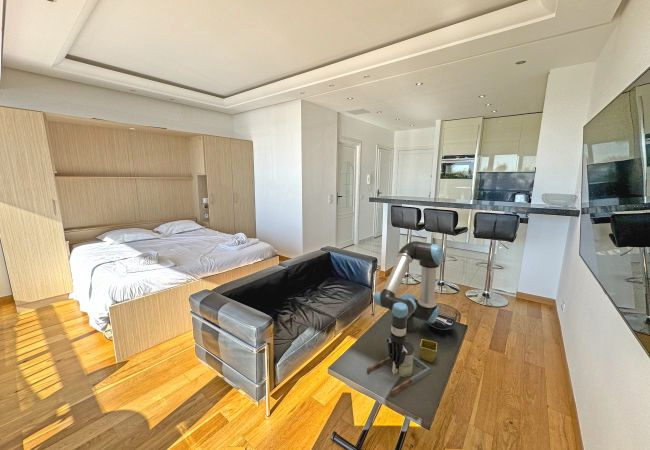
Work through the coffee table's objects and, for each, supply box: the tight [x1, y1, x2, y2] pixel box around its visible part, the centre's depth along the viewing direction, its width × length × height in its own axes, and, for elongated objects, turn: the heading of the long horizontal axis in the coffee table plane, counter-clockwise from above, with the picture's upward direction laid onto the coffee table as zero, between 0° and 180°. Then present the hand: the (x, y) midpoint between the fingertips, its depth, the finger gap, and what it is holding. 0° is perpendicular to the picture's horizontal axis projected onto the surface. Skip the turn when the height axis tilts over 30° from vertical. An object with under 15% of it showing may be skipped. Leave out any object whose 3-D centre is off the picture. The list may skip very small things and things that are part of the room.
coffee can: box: [396, 341, 415, 378], centre depth 141 cm, size 10×10×14 cm
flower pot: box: [419, 338, 438, 363], centre depth 151 cm, size 9×9×9 cm
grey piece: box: [385, 356, 431, 386], centre depth 143 cm, size 15×18×3 cm
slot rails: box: [366, 358, 412, 397], centre depth 136 cm, size 14×18×3 cm
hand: (394, 372), depth 138 cm, fingers closed
